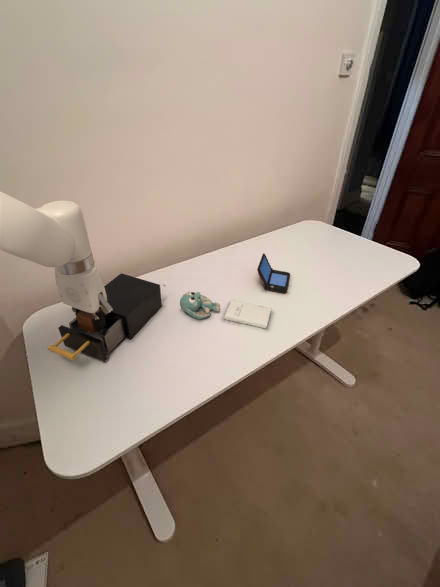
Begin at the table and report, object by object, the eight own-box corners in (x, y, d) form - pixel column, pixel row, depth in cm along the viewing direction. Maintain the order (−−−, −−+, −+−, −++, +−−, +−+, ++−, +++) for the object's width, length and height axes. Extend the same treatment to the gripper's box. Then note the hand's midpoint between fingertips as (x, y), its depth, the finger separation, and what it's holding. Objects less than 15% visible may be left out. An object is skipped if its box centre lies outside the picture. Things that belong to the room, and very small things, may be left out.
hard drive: (266, 329, 86) (224, 319, 88) (270, 311, 92) (231, 303, 95) (267, 325, 85) (224, 315, 87) (271, 307, 91) (231, 299, 94)
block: (93, 333, 73) (90, 320, 70) (79, 328, 74) (75, 314, 72) (106, 322, 76) (102, 309, 74) (92, 317, 77) (88, 304, 75)
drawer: (87, 379, 69) (81, 361, 65) (46, 362, 72) (38, 343, 69) (139, 325, 84) (136, 307, 80) (103, 312, 88) (99, 295, 84)
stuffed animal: (223, 308, 84) (180, 301, 82) (217, 326, 88) (176, 320, 86) (222, 285, 93) (183, 278, 91) (217, 303, 97) (179, 297, 95)
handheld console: (286, 295, 99) (290, 276, 95) (254, 288, 102) (256, 269, 97) (290, 275, 109) (294, 257, 105) (260, 269, 111) (263, 251, 107)
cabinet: (131, 339, 81) (126, 316, 76) (90, 324, 85) (83, 302, 80) (162, 306, 92) (160, 284, 87) (125, 294, 96) (121, 273, 91)
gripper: (30, 260, 64) (54, 324, 75) (94, 280, 59) (110, 346, 70) (58, 245, 69) (77, 307, 80) (118, 262, 65) (130, 325, 75)
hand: (92, 324), depth 75 cm, fingers closed on block, 4 cm apart
